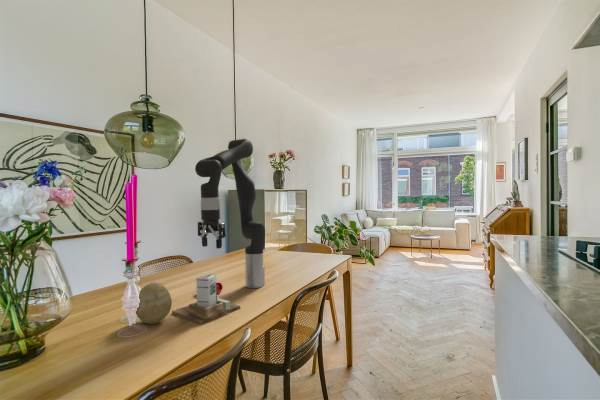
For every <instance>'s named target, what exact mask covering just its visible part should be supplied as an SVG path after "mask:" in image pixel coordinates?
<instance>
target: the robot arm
mask: <svg viewBox="0 0 600 400" xmlns="http://www.w3.org/2000/svg"><path fill="white" fill-rule="evenodd" d="M227 147H228V148H227V149H226V150H223V151H222V150H221V151H220V152H218V153H216V154H215V155H212V156H209V157H206V158H203V159H200V160H199V161H198V162H196V164H195V168H194V170H195V173H196V174H197V175H198V176H199V177H201V178H209V180H208V182H205V183H202V184H201V185H200V217H201V221H198V222H197V236H198V237H200V238H201V246H202V247H203V248H205V247H208V235H209V234H211V235H213V236H214V237H215V248H216V249H218V250H219V249H222V246H223V239H224V238H226V237H227V235H226V234H227V233H226V224H225V222H221V223H220V222H219V221H220V220H221V206H220V204H221V203H220V196H219V185H220V182H221V176H222V173H223V172H222V171H223V170H225V169H226V168H228V167H229V166H231V165H232V166H231V167H232V170H233V171H232V172H233V175H234V182H235V187H236V188H235V189H236V194H237V200H238V206H239V212H240V213H239V214H240V226H241V227H240V229H241V234H242V236H243V237H244V238H245V240H246V239H247V240H251V241H250V245H248V246H246V247H245V248H244V251H245V253H244V260H245V261H244V262H245V263H244V264H245V265H244V271H245V277H244V279H245V281H244V282H245V287H246V288H249V289H260V288H262V287H264V285H265V284H266V282H265V281H266V280H265V279H266V278H265V277H266V275H265V274H266V273H265V271H266V270H265V267H266V266H264V249H265V242H266V241H265V240H266V228H265V225H264V223H262V222H260V221H254V219H253V208H254V205H255V202H256V201H255V200H256V197H257V195H256V194H257V192H256V187H255V182H254V180H253V179H252V178H251V176H250V174H249V175H248V173H247V171H246V170H245V168H244V167H243V164H242V161H241V160H242V159H245V158H249V157H251V156H252V155H253V152H254V146H253V143H252V142H251V141H250V139H247V138H241V139H240V138H239V139H233V140H230V141H229V142H228V145H227Z"/></svg>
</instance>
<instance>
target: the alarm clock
mask: <svg viewBox="0 0 600 400" xmlns="http://www.w3.org/2000/svg"><path fill="white" fill-rule="evenodd" d="M216 284H217V296H218V295H220V294H221V291H222V290H223V289H224V288H223V284H222V283H221V282H216ZM195 292H196V293H197V290H196V291H195Z"/></svg>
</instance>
